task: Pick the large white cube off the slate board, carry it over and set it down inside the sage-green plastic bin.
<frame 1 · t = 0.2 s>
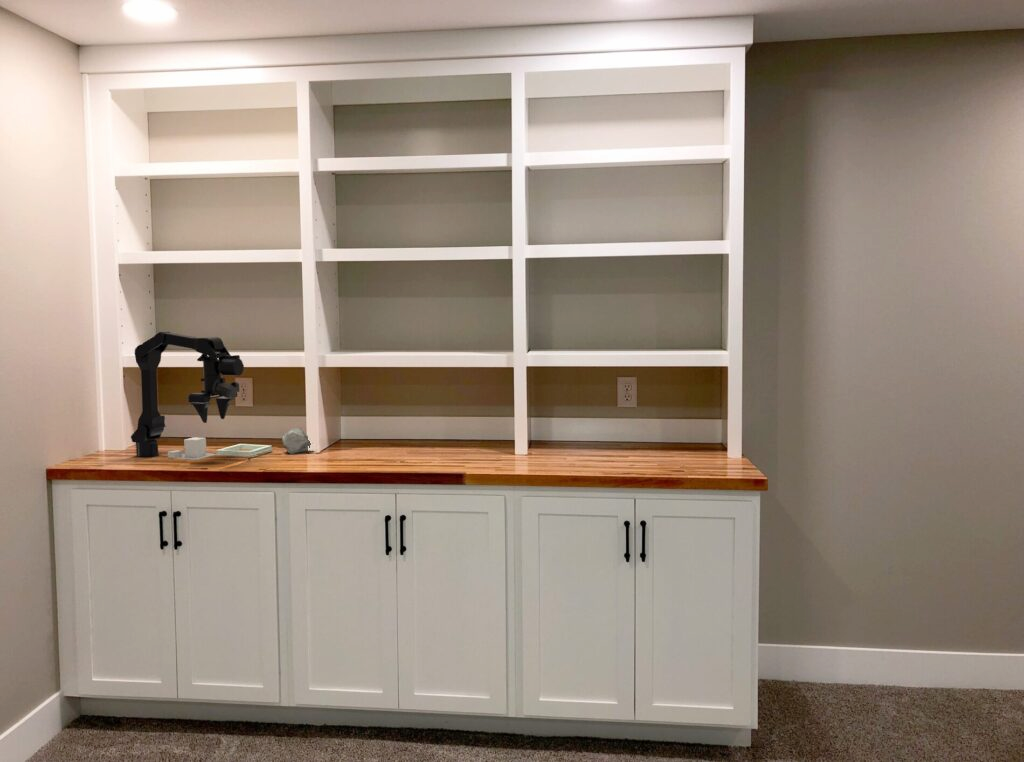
hand: (213, 420, 284), 14 cm above the table, fingers open, 9 cm apart
large white cube: (195, 455, 291), point 1 cm above the table, touching slate board
stone: (295, 453, 302), on the table
bin: (244, 454, 298), on the table
slate board: (193, 458, 292), on the table
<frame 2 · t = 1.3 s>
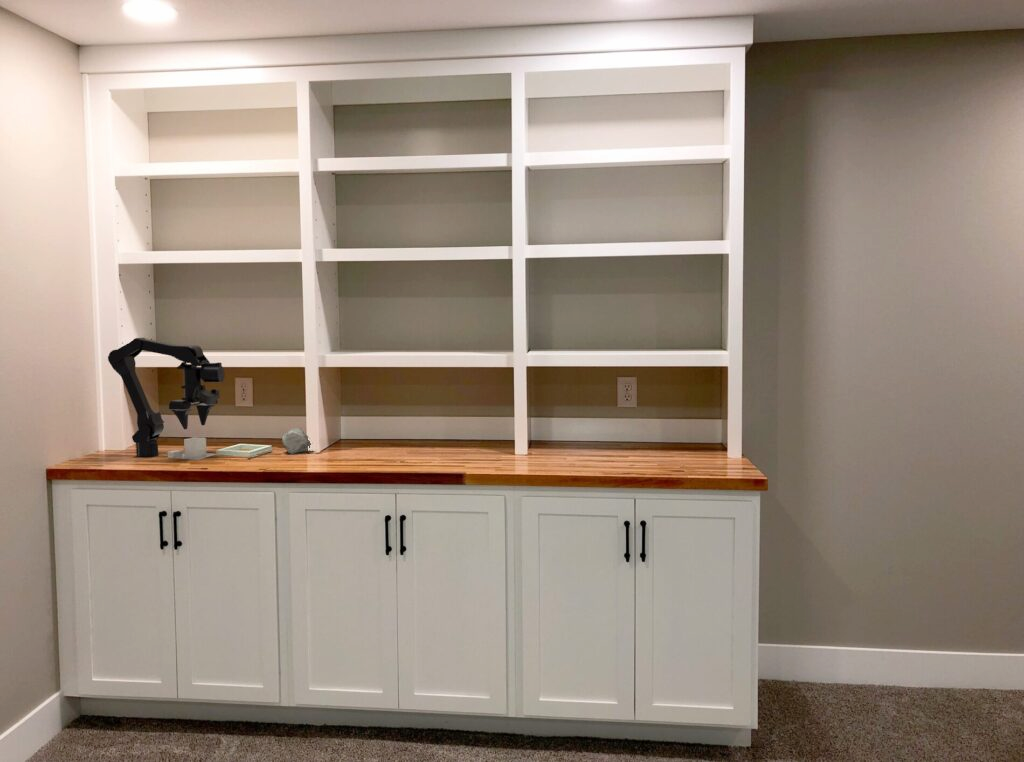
hand: (194, 427, 290), 11 cm above the table, fingers open, 9 cm apart
nothing on the table moved.
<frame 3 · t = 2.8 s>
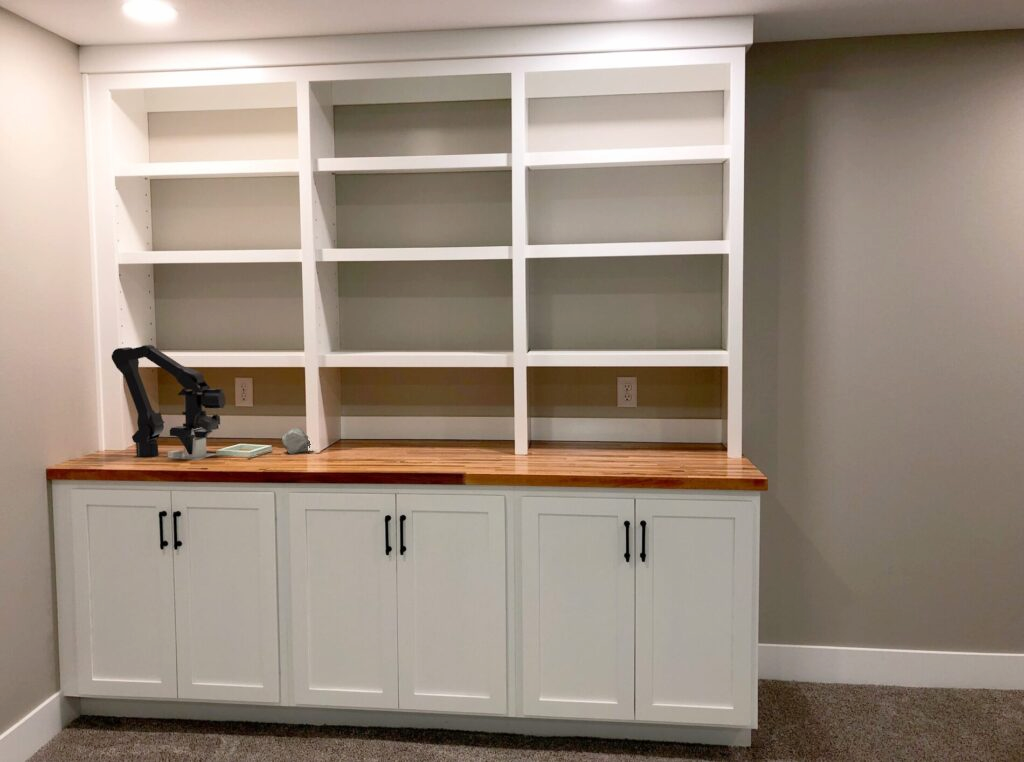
hand: (195, 452, 291), 2 cm above the table, fingers closed on large white cube, 5 cm apart
large white cube: (195, 455, 291), point 1 cm above the table, touching gripper, slate board
everything else where it was.
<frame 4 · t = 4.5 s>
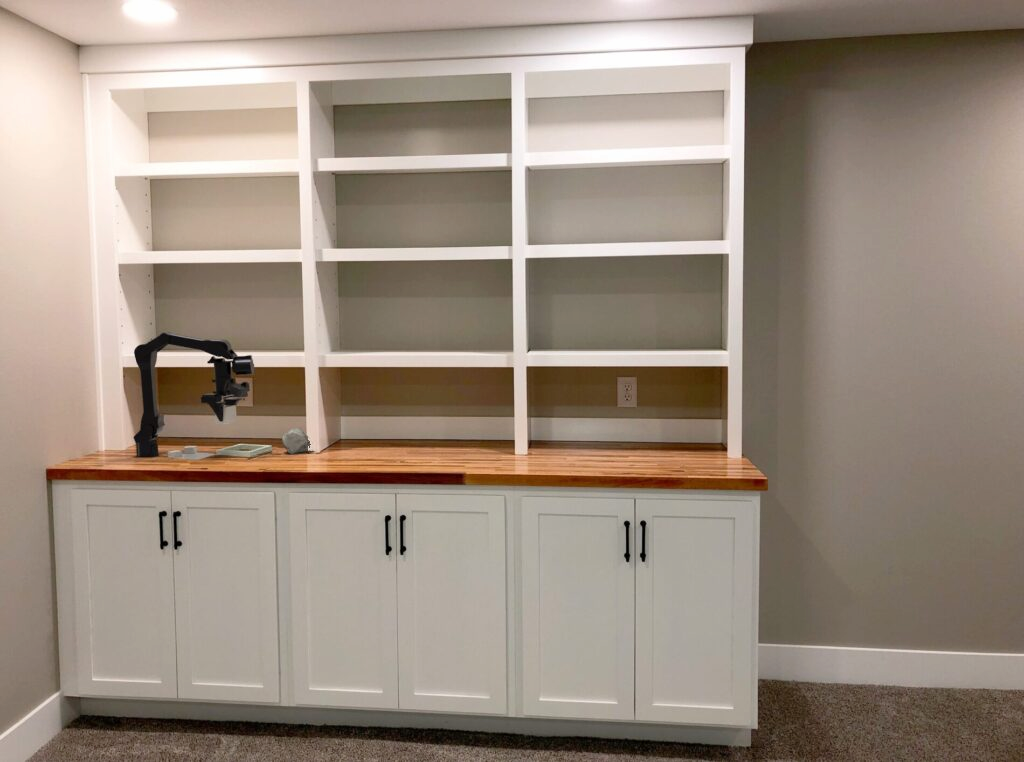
hand: (226, 420, 294), 13 cm above the table, fingers closed on large white cube, 5 cm apart
large white cube: (226, 423, 294), point 12 cm above the table, touching gripper
everything else where it was.
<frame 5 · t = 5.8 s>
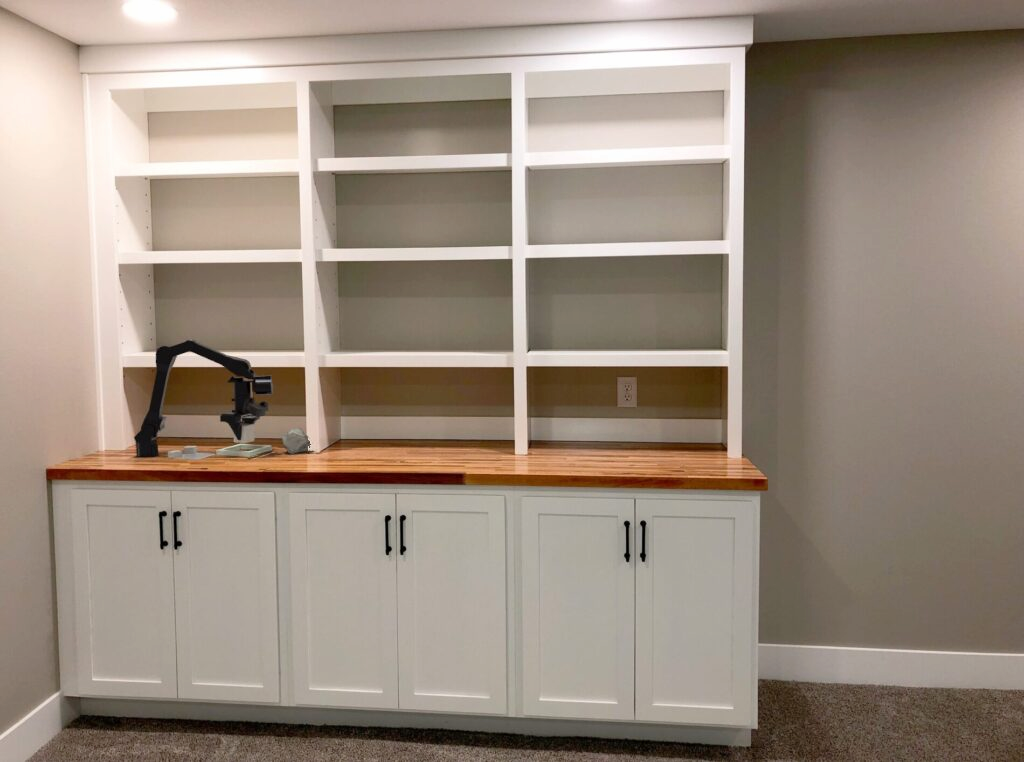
hand: (243, 438, 298), 6 cm above the table, fingers closed on large white cube, 5 cm apart
large white cube: (244, 441, 298), point 5 cm above the table, touching gripper
everything else where it was.
when the fingers open (3 cm above the table, at t = 6.6 s): large white cube drops 2 cm, resting on bin.
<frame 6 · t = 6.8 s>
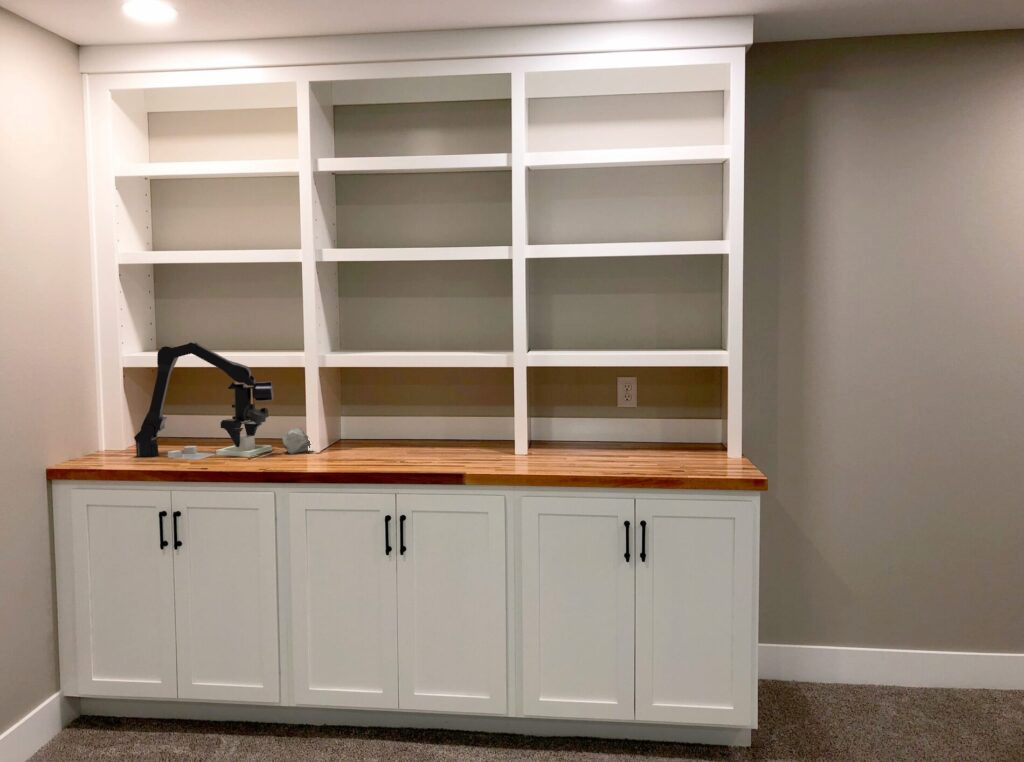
hand: (244, 445, 298), 3 cm above the table, fingers open, 7 cm apart
large white cube: (244, 453, 298), point 1 cm above the table, touching bin
everything else where it was.
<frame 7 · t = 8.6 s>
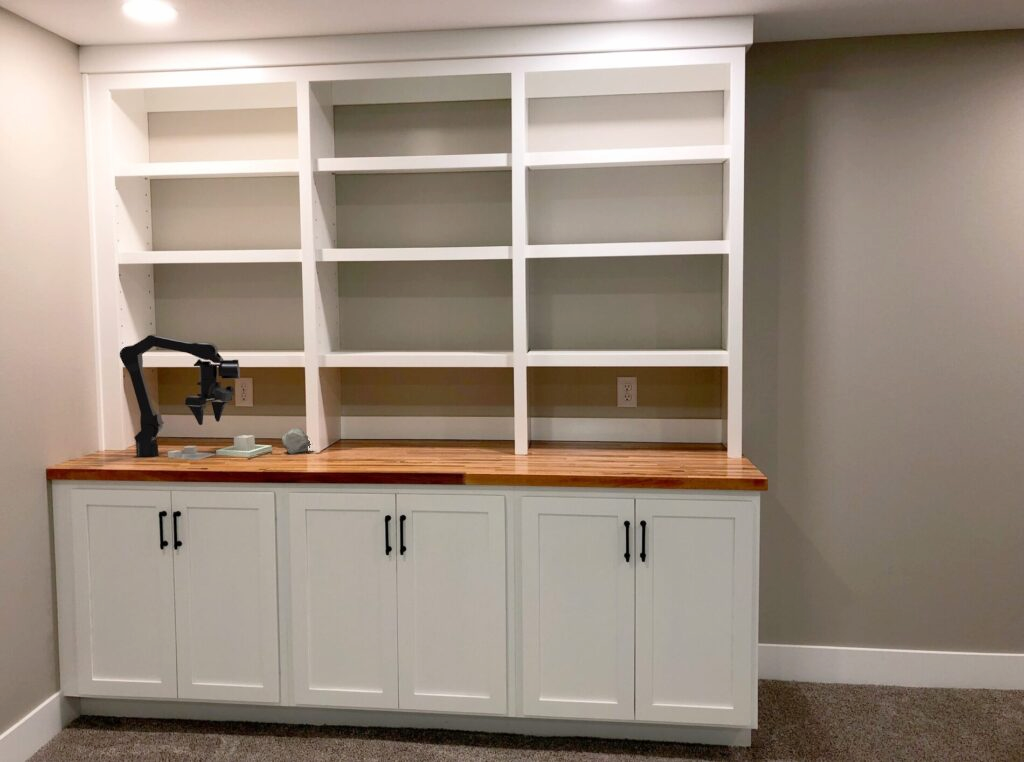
hand: (209, 423, 296), 12 cm above the table, fingers open, 9 cm apart
nothing on the table moved.
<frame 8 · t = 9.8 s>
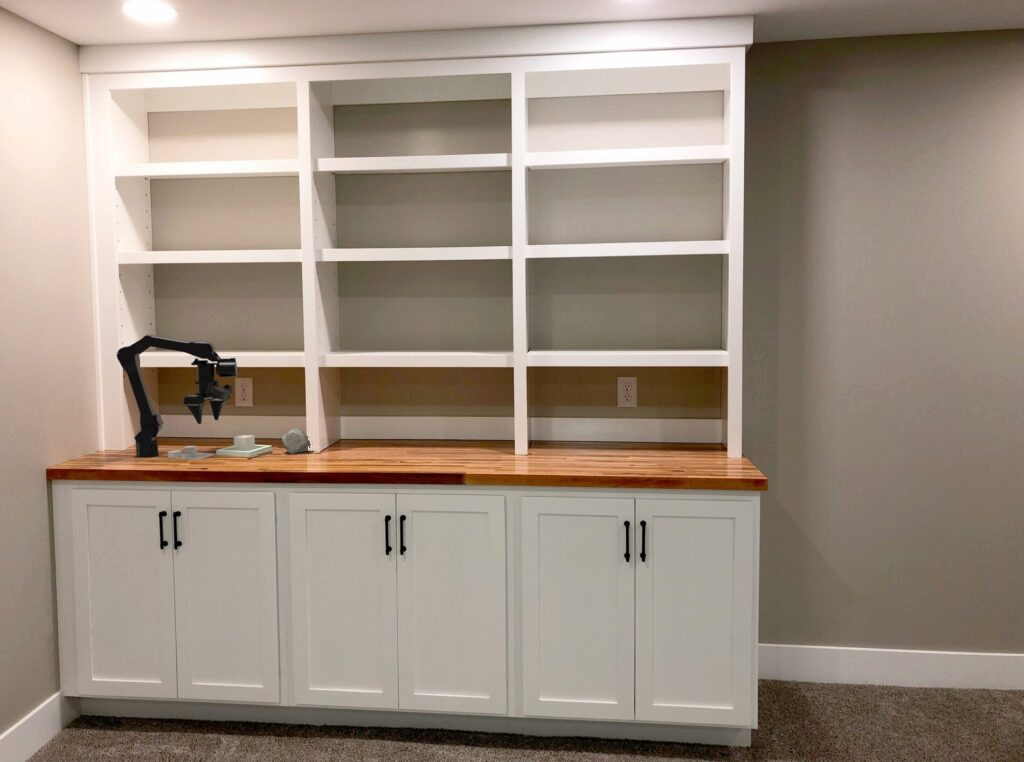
hand: (208, 422, 295), 12 cm above the table, fingers open, 9 cm apart
nothing on the table moved.
at the end: large white cube inside the target area (0.0 cm from its centre), point 0.6 cm above the table; the gripper is holding nothing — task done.
